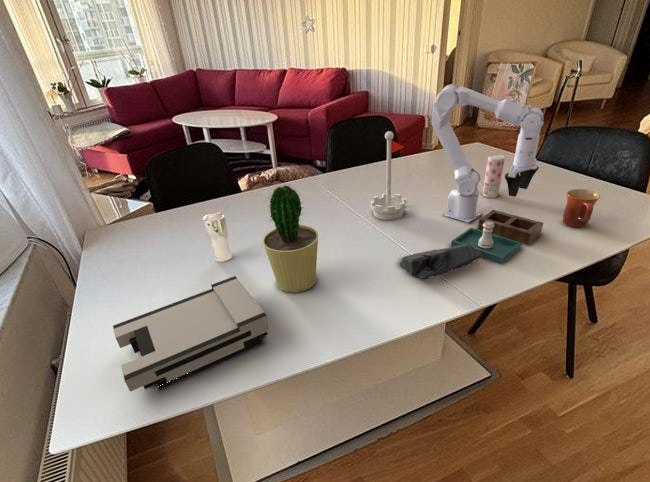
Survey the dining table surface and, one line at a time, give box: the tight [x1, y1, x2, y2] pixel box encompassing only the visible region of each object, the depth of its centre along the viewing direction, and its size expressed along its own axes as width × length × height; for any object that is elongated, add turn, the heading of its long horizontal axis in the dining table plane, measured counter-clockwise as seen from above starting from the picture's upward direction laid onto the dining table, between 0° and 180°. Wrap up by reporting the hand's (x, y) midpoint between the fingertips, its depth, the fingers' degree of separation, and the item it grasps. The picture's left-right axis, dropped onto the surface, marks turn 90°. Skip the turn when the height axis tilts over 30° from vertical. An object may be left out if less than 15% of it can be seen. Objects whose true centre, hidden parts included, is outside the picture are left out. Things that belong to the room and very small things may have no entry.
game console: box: [112, 275, 271, 392], centre depth 95 cm, size 21×32×8 cm, turn 120°
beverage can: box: [482, 154, 505, 199], centre depth 149 cm, size 6×6×15 cm
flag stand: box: [370, 130, 408, 221], centre depth 140 cm, size 13×13×30 cm
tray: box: [450, 227, 522, 265], centre depth 121 cm, size 16×11×2 cm
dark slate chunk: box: [399, 245, 483, 280], centre depth 114 cm, size 15×22×5 cm
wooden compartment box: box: [477, 209, 544, 246], centre depth 127 cm, size 16×9×4 cm, turn 42°
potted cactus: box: [262, 184, 319, 293], centre depth 108 cm, size 15×15×30 cm
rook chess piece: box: [478, 221, 494, 249], centre depth 119 cm, size 4×4×8 cm
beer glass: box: [202, 211, 234, 263], centre depth 128 cm, size 7×7×15 cm
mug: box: [562, 188, 601, 229], centre depth 124 cm, size 12×9×10 cm
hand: (517, 192), depth 128 cm, fingers open, 7 cm apart
